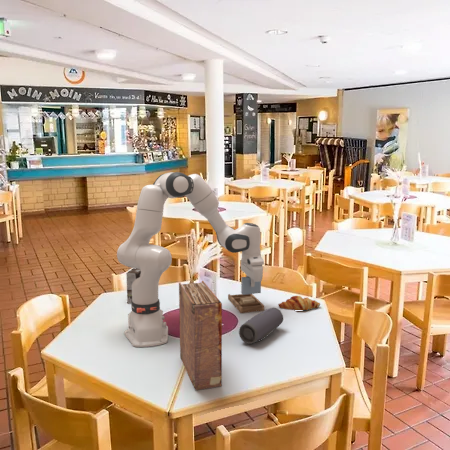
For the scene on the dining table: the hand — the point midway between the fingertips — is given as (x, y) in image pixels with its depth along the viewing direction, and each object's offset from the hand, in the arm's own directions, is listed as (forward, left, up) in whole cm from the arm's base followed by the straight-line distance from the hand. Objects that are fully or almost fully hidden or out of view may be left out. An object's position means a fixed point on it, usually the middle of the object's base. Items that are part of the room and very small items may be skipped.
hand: (250, 285), depth 222 cm
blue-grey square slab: (0, 0, -4) cm, 4 cm away
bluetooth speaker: (-28, +5, -14) cm, 31 cm away
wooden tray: (+7, 0, -13) cm, 15 cm away
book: (-49, +37, -14) cm, 63 cm away
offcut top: (+5, 0, -11) cm, 12 cm away
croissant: (-3, -24, -14) cm, 28 cm away
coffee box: (+31, +51, -14) cm, 61 cm away
